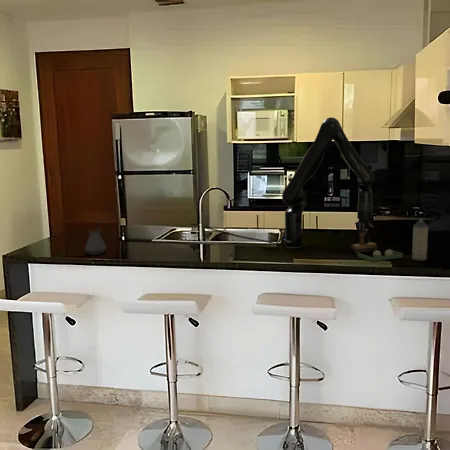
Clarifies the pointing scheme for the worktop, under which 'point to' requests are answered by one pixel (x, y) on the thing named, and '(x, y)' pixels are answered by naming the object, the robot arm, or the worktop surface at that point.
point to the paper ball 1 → (376, 253)
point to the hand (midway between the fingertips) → (364, 242)
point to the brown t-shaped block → (363, 245)
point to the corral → (395, 255)
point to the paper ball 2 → (388, 252)
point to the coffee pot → (95, 242)
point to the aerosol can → (420, 241)
